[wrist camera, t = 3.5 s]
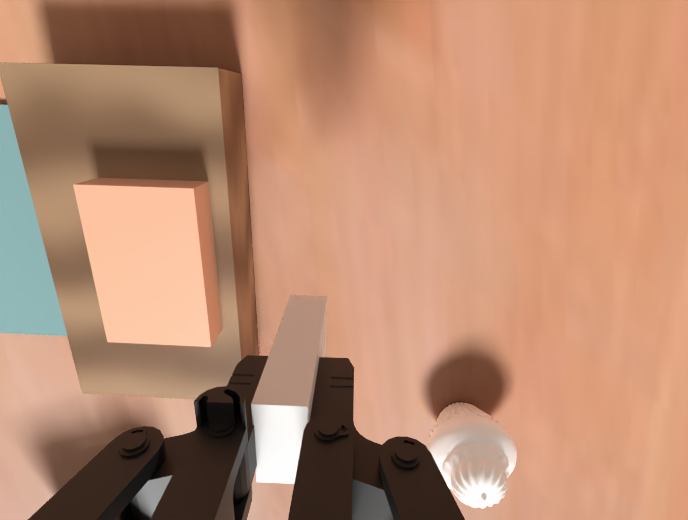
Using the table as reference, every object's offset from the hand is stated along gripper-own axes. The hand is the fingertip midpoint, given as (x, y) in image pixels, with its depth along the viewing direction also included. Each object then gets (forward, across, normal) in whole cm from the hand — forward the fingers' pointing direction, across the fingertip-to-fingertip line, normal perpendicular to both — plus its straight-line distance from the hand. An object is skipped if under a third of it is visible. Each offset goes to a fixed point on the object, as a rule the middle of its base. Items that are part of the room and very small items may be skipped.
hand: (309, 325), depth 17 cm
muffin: (+11, +10, -14) cm, 20 cm away
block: (+7, -9, 0) cm, 11 cm away
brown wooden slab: (+11, -10, 0) cm, 15 cm away
